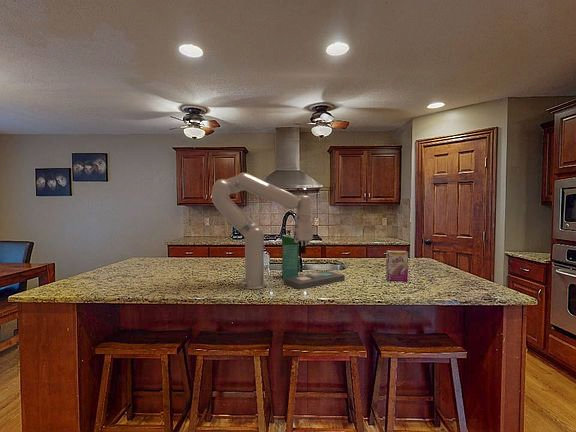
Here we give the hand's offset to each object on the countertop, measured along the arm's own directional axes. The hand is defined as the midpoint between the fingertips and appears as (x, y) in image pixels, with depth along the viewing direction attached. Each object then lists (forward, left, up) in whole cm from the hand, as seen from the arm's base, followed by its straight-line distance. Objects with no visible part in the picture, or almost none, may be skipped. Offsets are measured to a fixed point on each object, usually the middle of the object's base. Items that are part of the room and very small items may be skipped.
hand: (302, 253), depth 170 cm
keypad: (+8, -1, -17) cm, 19 cm away
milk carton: (+4, +16, -17) cm, 24 cm away
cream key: (0, -1, -16) cm, 16 cm away
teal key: (+16, -1, -16) cm, 23 cm away
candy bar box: (+48, -25, -17) cm, 57 cm away
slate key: (+8, -1, -15) cm, 17 cm away
